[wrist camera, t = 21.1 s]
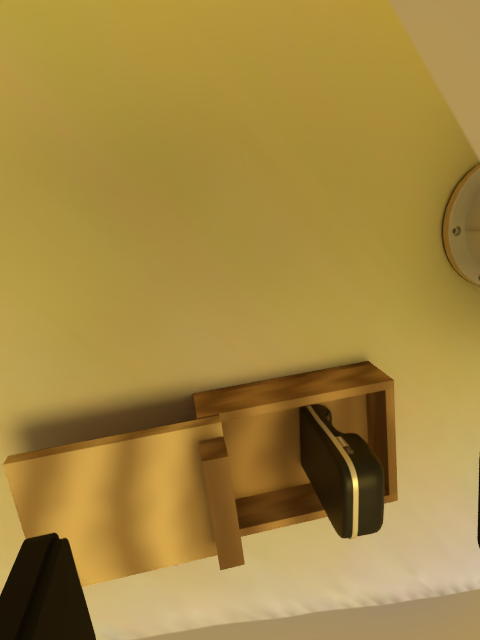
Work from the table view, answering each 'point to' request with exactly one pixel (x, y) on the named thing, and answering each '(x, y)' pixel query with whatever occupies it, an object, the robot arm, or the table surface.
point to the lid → (133, 499)
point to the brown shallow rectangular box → (297, 437)
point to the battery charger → (342, 474)
